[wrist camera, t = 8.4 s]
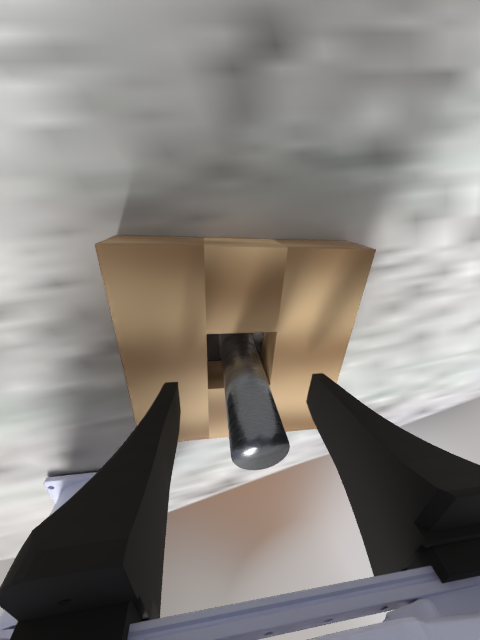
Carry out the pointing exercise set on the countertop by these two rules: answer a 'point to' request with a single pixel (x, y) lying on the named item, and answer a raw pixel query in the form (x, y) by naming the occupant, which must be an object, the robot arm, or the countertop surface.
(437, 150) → the countertop surface
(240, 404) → the pin
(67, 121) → the countertop surface
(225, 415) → the tan slotted block
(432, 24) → the countertop surface
